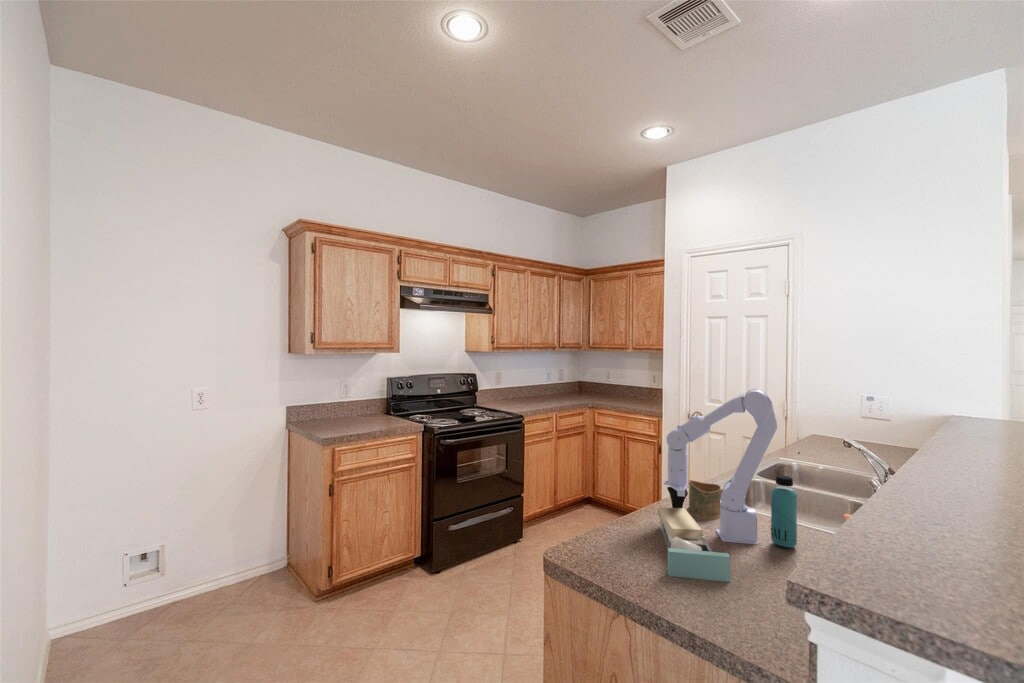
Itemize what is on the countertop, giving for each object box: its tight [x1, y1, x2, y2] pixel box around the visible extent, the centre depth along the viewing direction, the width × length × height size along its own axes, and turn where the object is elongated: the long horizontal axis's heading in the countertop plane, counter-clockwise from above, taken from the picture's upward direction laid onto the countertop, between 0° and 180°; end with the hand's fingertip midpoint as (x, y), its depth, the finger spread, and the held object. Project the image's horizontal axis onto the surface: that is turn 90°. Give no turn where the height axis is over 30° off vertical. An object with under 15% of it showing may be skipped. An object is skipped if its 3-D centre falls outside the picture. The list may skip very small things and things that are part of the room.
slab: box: [657, 507, 703, 539], centre depth 131 cm, size 8×16×2 cm, turn 175°
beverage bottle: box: [770, 475, 798, 548], centre depth 127 cm, size 6×7×20 cm
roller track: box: [659, 519, 713, 552], centre depth 125 cm, size 11×27×4 cm, turn 169°
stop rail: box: [667, 548, 731, 583], centre depth 111 cm, size 14×2×6 cm, turn 79°
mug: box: [685, 479, 731, 520], centre depth 151 cm, size 12×18×12 cm, turn 73°
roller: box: [671, 537, 702, 551], centre depth 119 cm, size 7×4×4 cm
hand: (677, 512), depth 141 cm, fingers closed
